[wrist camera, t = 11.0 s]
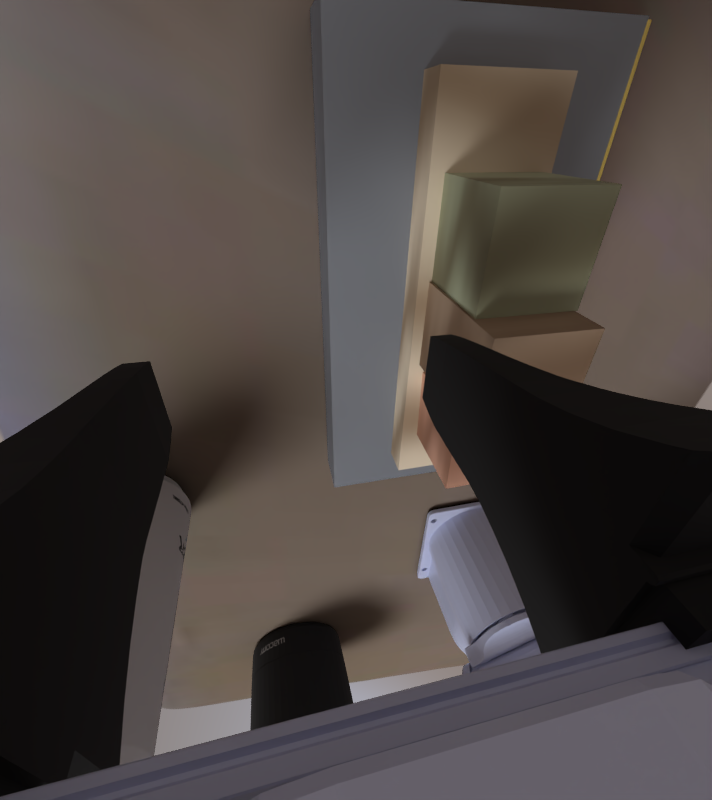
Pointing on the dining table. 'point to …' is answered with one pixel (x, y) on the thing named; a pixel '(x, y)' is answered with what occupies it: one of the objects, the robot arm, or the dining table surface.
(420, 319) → the board
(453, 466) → the block
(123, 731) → the energy drink can
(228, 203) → the dining table surface
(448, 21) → the dock
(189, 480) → the dining table surface
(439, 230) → the block
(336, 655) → the pen holder
